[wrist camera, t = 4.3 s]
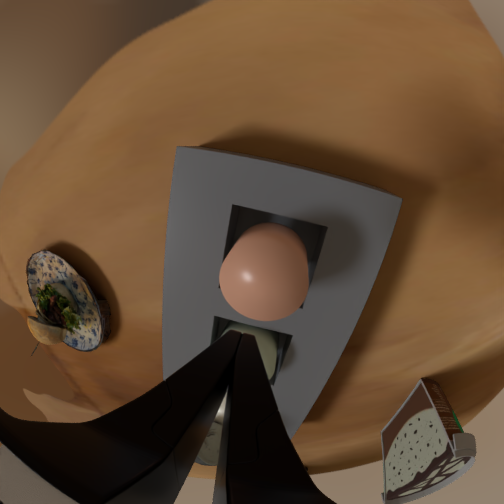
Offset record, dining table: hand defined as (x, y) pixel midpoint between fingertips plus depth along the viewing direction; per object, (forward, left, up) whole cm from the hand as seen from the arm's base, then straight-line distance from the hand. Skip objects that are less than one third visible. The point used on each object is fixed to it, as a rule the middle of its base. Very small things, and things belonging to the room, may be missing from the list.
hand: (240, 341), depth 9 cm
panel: (0, +7, -10) cm, 12 cm away
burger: (+19, +11, -10) cm, 24 cm away
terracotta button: (0, 0, -7) cm, 7 cm away
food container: (-20, +14, -10) cm, 26 cm away
